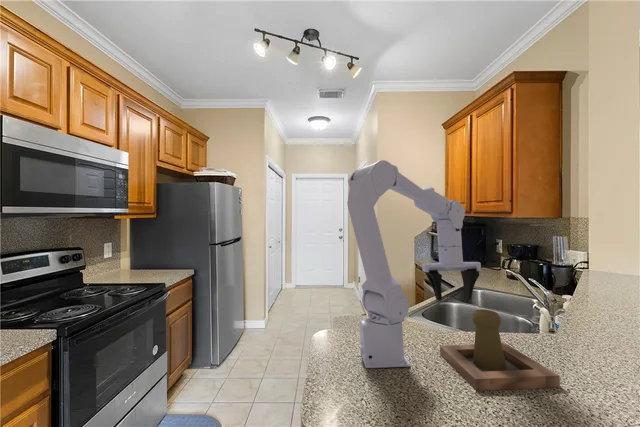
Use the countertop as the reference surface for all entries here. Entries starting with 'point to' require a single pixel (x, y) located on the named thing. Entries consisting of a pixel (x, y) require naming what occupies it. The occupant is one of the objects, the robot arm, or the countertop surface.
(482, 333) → the cork
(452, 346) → the holder
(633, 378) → the countertop surface
